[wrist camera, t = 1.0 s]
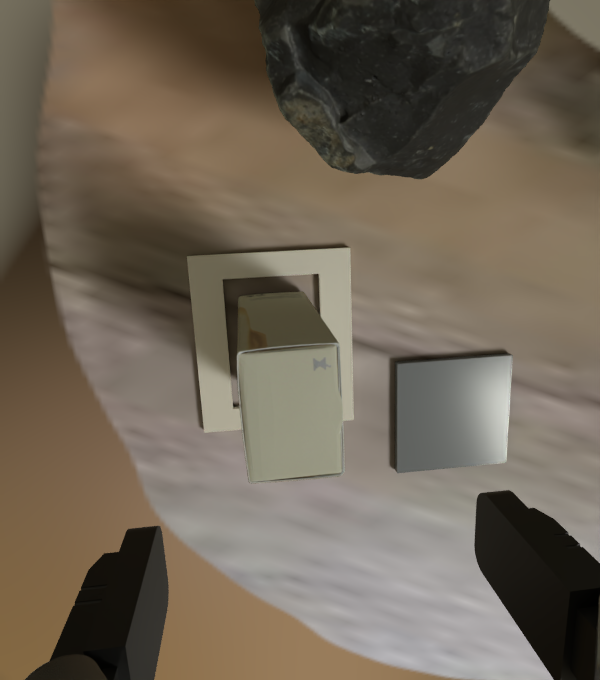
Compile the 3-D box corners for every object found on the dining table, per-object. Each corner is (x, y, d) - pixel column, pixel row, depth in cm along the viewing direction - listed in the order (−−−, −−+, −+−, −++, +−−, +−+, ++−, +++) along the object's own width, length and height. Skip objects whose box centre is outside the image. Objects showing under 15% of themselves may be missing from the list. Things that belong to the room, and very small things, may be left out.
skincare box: (236, 294, 32) (232, 342, 20) (305, 289, 32) (341, 333, 20) (245, 391, 33) (245, 489, 21) (310, 385, 33) (347, 478, 22)
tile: (508, 353, 35) (512, 355, 34) (502, 459, 37) (505, 462, 36) (395, 361, 34) (397, 364, 33) (395, 469, 36) (397, 473, 35)
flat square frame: (348, 247, 32) (350, 247, 31) (352, 417, 34) (353, 419, 34) (187, 256, 31) (186, 256, 30) (204, 430, 34) (204, 432, 33)
